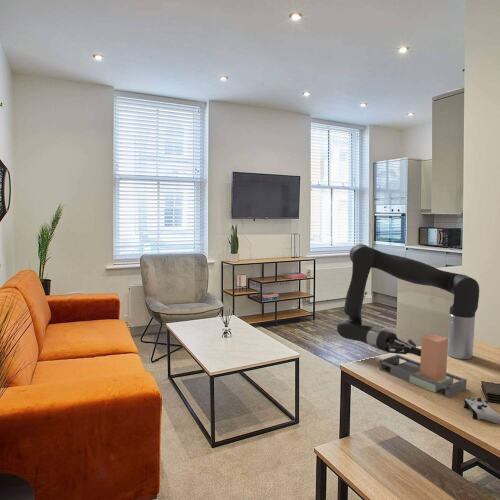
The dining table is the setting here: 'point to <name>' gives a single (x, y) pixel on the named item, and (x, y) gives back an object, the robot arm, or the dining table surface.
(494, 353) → the dining table surface
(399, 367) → the box
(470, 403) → the gaming controller
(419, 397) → the dining table surface
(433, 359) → the terracotta block
